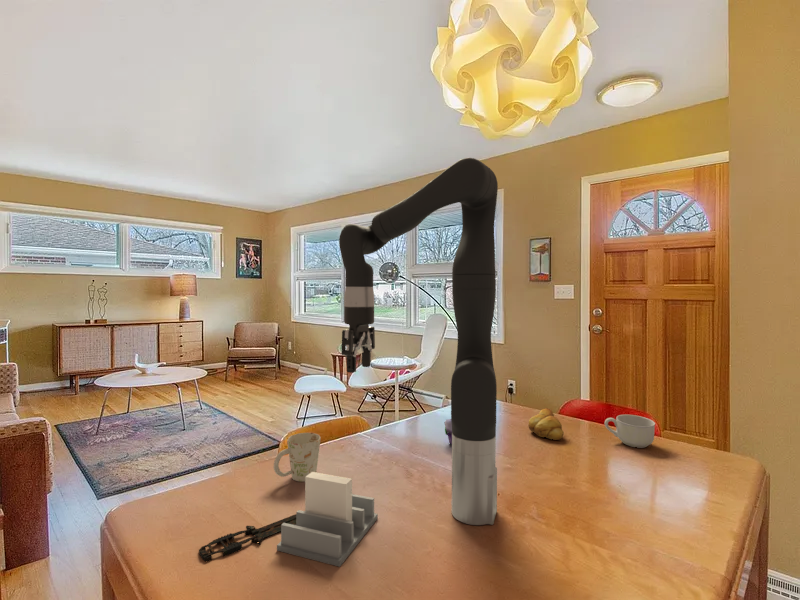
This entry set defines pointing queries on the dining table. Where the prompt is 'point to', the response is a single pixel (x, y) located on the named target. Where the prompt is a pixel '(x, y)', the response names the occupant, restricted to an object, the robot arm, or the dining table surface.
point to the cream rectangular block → (328, 495)
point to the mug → (300, 455)
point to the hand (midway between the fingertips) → (359, 369)
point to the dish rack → (328, 533)
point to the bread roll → (546, 425)
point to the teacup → (633, 430)
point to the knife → (237, 546)
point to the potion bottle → (448, 429)
